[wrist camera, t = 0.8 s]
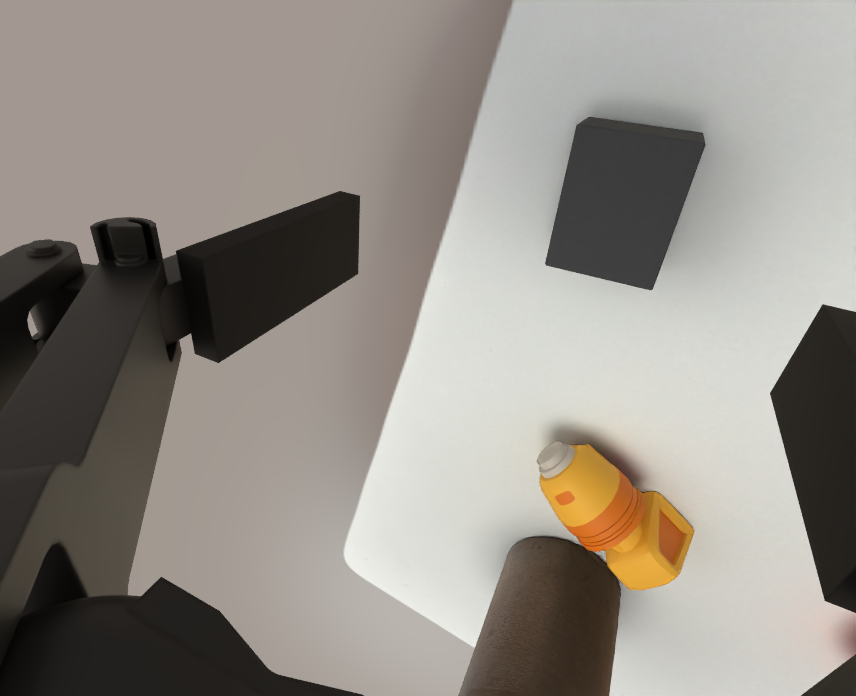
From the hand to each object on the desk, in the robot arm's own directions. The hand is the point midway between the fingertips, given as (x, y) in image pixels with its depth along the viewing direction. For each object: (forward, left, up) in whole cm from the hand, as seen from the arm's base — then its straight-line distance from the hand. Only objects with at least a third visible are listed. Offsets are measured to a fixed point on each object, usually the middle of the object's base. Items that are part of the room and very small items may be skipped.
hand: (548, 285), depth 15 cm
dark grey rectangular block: (0, +1, -15) cm, 15 cm away
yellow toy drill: (+20, +6, -15) cm, 26 cm away
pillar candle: (+32, +5, -15) cm, 36 cm away
